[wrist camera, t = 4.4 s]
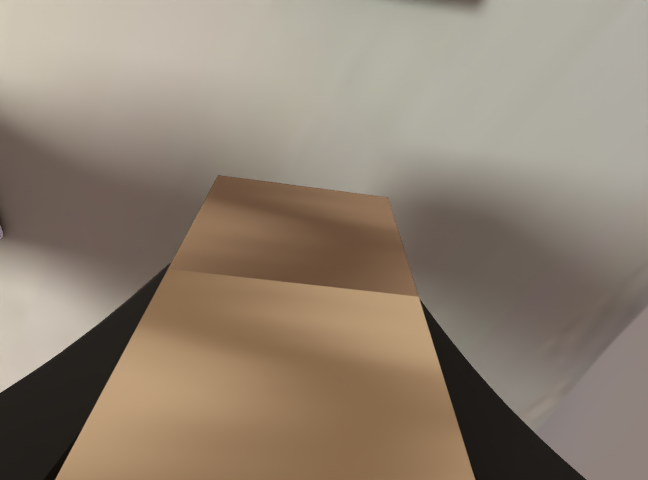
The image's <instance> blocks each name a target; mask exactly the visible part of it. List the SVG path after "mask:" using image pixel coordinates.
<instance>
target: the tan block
mask: <svg viewBox="0 0 648 480" xmlns="http://www.w3.org/2000/svg"><path fill="white" fill-rule="evenodd" d="M55 480H475V477H474V474H473V471H472V468H471V464H470V461H469V458H468V455H467V451H466V448H465V445H464V442H463V439H462V435H461V432H460V429H459V426H458V422H457V419H456V416H455V413H454V409H453V406H452V403H451V400H450V396H449V393H448V390H447V387H446V384H445V380H444V377H443V374H442V371H441V367H440V364H439V361H438V358H437V354H436V351H435V348H434V345H433V341H432V338H431V335H430V332H429V329H428V325H427V322H426V319H425V316H424V312H423V309H422V306H421V303H420V299H419V296H418V293H417V290H416V286H415V283H414V280H413V277H412V274H411V270H410V267H409V264H408V261H407V257H406V254H405V251H404V248H403V244H402V241H401V238H400V235H399V231H398V228H397V225H396V222H395V219H394V215H393V212H392V209H391V206H390V202H389V199H388V197H380V196H372V195H365V194H357V193H350V192H342V191H334V190H327V189H319V188H311V187H304V186H296V185H289V184H281V183H273V182H266V181H258V180H250V179H243V178H235V177H228V176H220V175H218V177H217V179H216V180H215V182H214V184H213V186H212V188H211V190H210V192H209V193H208V195H207V197H206V199H205V201H204V203H203V205H202V207H201V208H200V210H199V212H198V214H197V216H196V218H195V220H194V221H193V223H192V225H191V227H190V229H189V231H188V233H187V235H186V236H185V238H184V240H183V242H182V244H181V246H180V248H179V249H178V251H177V253H176V255H175V257H174V259H173V261H172V263H171V264H170V266H169V268H168V270H167V272H166V274H165V276H164V277H163V279H162V281H161V283H160V285H159V287H158V289H157V291H156V292H155V294H154V296H153V298H152V300H151V302H150V304H149V305H148V307H147V309H146V311H145V313H144V315H143V317H142V319H141V320H140V322H139V324H138V326H137V328H136V330H135V332H134V333H133V335H132V337H131V339H130V341H129V343H128V345H127V347H126V348H125V350H124V352H123V354H122V356H121V358H120V360H119V361H118V363H117V365H116V367H115V369H114V371H113V373H112V375H111V376H110V378H109V380H108V382H107V384H106V386H105V388H104V389H103V391H102V393H101V395H100V397H99V399H98V401H97V402H96V404H95V406H94V408H93V410H92V412H91V414H90V416H89V417H88V419H87V421H86V423H85V425H84V427H83V429H82V430H81V432H80V434H79V436H78V438H77V440H76V442H75V444H74V445H73V447H72V449H71V451H70V453H69V455H68V457H67V458H66V460H65V462H64V464H63V466H62V468H61V470H60V472H59V473H58V475H57V477H56V479H55Z"/></svg>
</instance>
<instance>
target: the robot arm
mask: <svg viewBox="0 0 648 480" xmlns="http://www.w3.org/2000/svg"><path fill="white" fill-rule="evenodd" d="M2 237H3V231H2V228H1V226H0V239H1V238H2ZM171 263H172V262H171ZM171 263H170V264H171ZM170 264H169V265H167V266H166V267H165V268H164V269H163V270H161V271H160V272H159V273H158V274H157V275H156V276H155V277H154V278H152V279H151V280H150V281H149V282H148V283H147V284H146V285H145V286H143V287H142V288H141V289H140V290H139V291H138V292H136V293H135V294H134V295H133V296H132V297H131V298H130V299H128V300H127V301H126V302H125V303H124V304H122V305H121V306H120V307H119V308H117V309H116V310H115V311H114V312H113V313H111V314H110V315H109V316H108V317H107V318H105V319H104V320H103V321H102V322H100V323H99V324H98V325H97V326H95V327H94V328H93V329H91V330H90V331H89V332H87V333H86V334H85V335H83V336H82V337H81V338H79V339H78V340H77V341H75V342H74V343H73V344H71V345H70V346H69V347H67V348H66V349H65V350H63V351H62V352H61V353H59V354H58V355H56V356H55V357H54V358H52V359H51V360H49V361H48V362H46V363H45V364H44V365H42V366H41V367H39V368H38V369H36V370H35V371H33V372H32V373H30V374H29V375H27V376H26V377H24V378H23V379H21V380H20V381H18V382H17V383H15V384H13V385H12V386H10V387H9V388H7V389H6V390H4V391H3V392H1V393H0V480H55V479H56V477H57V475H58V473H59V472H60V470H61V468H62V466H63V464H64V462H65V460H66V458H67V457H68V455H69V453H70V451H71V449H72V447H73V445H74V444H75V442H76V440H77V438H78V436H79V434H80V432H81V430H82V429H83V427H84V425H85V423H86V421H87V419H88V417H89V416H90V414H91V412H92V410H93V408H94V406H95V404H96V402H97V401H98V399H99V397H100V395H101V393H102V391H103V389H104V388H105V386H106V384H107V382H108V380H109V378H110V376H111V375H112V373H113V371H114V369H115V367H116V365H117V363H118V361H119V360H120V358H121V356H122V354H123V352H124V350H125V348H126V347H127V345H128V343H129V341H130V339H131V337H132V335H133V333H134V332H135V330H136V328H137V326H138V324H139V322H140V320H141V319H142V317H143V315H144V313H145V311H146V309H147V307H148V305H149V304H150V302H151V300H152V298H153V296H154V294H155V292H156V291H157V289H158V287H159V285H160V283H161V281H162V279H163V277H164V276H165V274H166V272H167V270H168V268H169V266H170ZM420 303H421V306H422V309H423V312H424V316H425V319H426V322H427V325H428V329H429V332H430V335H431V338H432V341H433V345H434V348H435V351H436V354H437V358H438V361H439V364H440V367H441V371H442V374H443V377H444V380H445V384H446V387H447V390H448V393H449V396H450V400H451V403H452V406H453V409H454V413H455V416H456V419H457V422H458V426H459V429H460V432H461V435H462V439H463V442H464V445H465V448H466V451H467V455H468V458H469V461H470V464H471V468H472V471H473V474H474V477H475V480H586V479H585V478H584V477H583V476H581V475H580V474H579V473H578V472H577V471H576V470H575V469H573V468H572V467H571V466H570V465H569V464H568V463H567V462H565V461H564V460H563V459H562V458H561V457H560V456H559V455H558V454H556V453H555V452H554V451H553V450H552V449H551V448H550V447H549V446H548V445H547V444H546V443H545V442H544V441H543V440H541V439H540V438H539V437H538V436H537V435H536V434H535V433H534V432H533V431H532V430H531V429H530V428H529V427H528V426H527V425H526V424H525V423H524V422H523V421H522V420H521V419H520V418H519V417H518V416H517V415H516V414H515V413H514V412H513V411H512V410H511V409H510V408H509V407H508V406H507V405H506V404H505V403H504V402H503V400H502V399H501V398H500V397H499V396H498V395H497V394H496V393H495V392H494V391H493V389H492V388H491V387H490V386H489V385H488V384H487V383H486V382H485V381H484V379H483V378H482V377H481V376H480V375H479V374H478V373H477V372H476V370H475V369H474V368H473V367H472V366H471V364H470V363H469V362H468V361H467V360H466V358H465V357H464V356H463V355H462V354H461V352H460V351H459V350H458V349H457V347H456V346H455V345H454V344H453V342H452V341H451V340H450V339H449V337H448V336H447V335H446V333H445V332H444V331H443V330H442V328H441V327H440V326H439V324H438V323H437V322H436V320H435V319H434V318H433V316H432V315H431V314H430V312H429V311H428V310H427V308H426V307H425V306H424V304H423V303H422V301H421V300H420Z"/></svg>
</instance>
